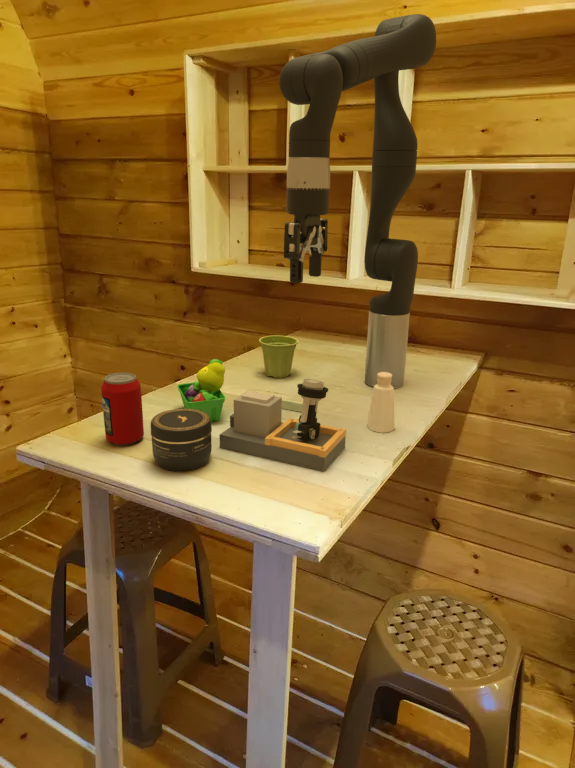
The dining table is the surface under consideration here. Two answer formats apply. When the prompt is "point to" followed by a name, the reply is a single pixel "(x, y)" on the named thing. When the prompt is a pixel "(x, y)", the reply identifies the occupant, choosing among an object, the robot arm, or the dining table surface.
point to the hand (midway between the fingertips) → (305, 279)
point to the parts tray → (292, 406)
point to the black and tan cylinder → (309, 409)
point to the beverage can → (122, 408)
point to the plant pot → (278, 354)
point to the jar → (181, 439)
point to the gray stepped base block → (278, 434)
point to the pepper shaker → (382, 405)
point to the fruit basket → (205, 390)
